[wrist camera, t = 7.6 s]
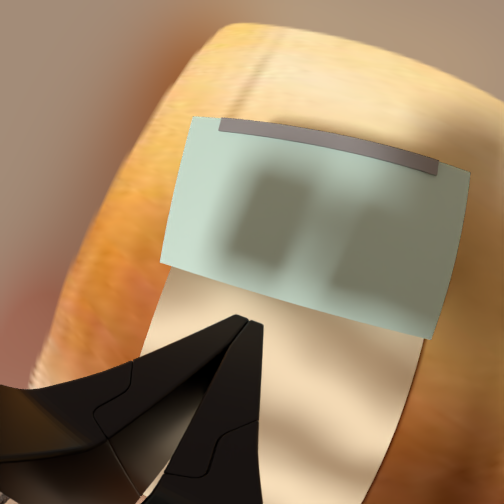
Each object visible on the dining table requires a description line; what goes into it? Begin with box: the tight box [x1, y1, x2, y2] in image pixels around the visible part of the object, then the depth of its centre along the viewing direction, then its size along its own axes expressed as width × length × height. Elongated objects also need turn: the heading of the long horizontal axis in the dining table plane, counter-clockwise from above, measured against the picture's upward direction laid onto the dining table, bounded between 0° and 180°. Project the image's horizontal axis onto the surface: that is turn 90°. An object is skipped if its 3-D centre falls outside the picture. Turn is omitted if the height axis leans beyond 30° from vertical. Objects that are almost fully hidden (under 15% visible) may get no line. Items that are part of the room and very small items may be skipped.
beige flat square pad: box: [140, 266, 424, 504], centre depth 16 cm, size 16×16×2 cm
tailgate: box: [160, 116, 471, 340], centre depth 16 cm, size 2×16×9 cm
